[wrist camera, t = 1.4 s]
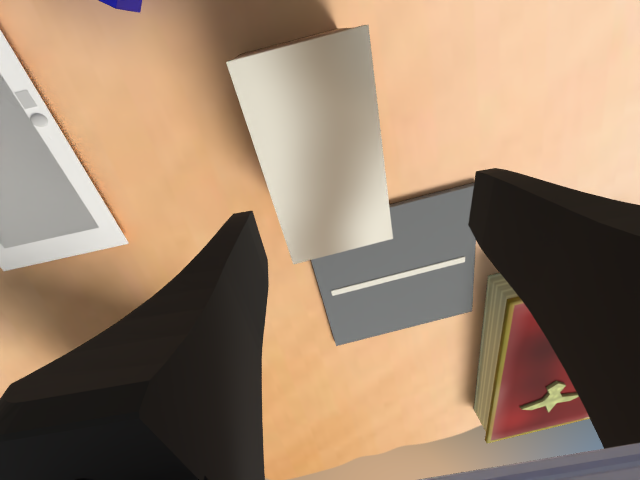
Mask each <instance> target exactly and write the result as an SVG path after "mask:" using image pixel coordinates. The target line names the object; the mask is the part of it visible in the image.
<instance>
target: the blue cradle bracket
mask: <svg viewBox="0 0 640 480" xmlns="http://www.w3.org/2000/svg"><path fill="white" fill-rule="evenodd" d="M99 1H101V2H103V3H105V4H107V5H109V6H111V7H114V8H116V9H121V10H127V11H134V12H140V10H141V4H142V0H99Z"/></svg>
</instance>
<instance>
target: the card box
mask: <svg viewBox="0 0 640 480" xmlns="http://www.w3.org/2000/svg"><path fill="white" fill-rule="evenodd" d="M226 64H227V67H228V70H229V73H230V76H231V79H232V82H233V85H234V88H235V91H236V93H237V96H238V99H239V102H240V105H241V108H242V111H243V114H244V117H245V120H246V123H247V126H248V129H249V132H250V135H251V138H252V141H253V144H254V147H255V150H256V153H257V156H258V159H259V162H260V165H261V168H262V171H263V174H264V177H265V180H266V183H267V186H268V189H269V192H270V195H271V198H272V201H273V204H274V207H275V210H276V213H277V216H278V219H279V222H280V225H281V228H282V231H283V234H284V237H285V240H286V243H287V246H288V249H289V252H290V255H291V258H292V261H293V264H297V263H301V262H305V261H309V260H312V259H316V258H320V257H324V256H328V255H332V254H336V253H340V252H344V251H347V250H351V249H355V248H359V247H363V246H367V245H371V244H375V243H379V242H382V241H386V240H390V239H393V234H392V225H391V217H390V208H389V200H388V191H387V182H386V174H385V165H384V156H383V148H382V139H381V130H380V122H379V113H378V104H377V96H376V87H375V79H374V70H373V61H372V53H371V44H370V35H369V27H368V25H363V26H359V27H355V28H342V29H335V30H331V31H327V32H323V33H320V34H316V35H312V36H308V37H304V38H301V39H297V40H293V41H289V42H285V43H282V44H278V45H274V46H270V47H266V48H263V49H259V50H255V51H251V52H247V53H244V54H240V55H239V56H238V57H236V58H235V59H233V60H230V61H227V62H226Z"/></svg>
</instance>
